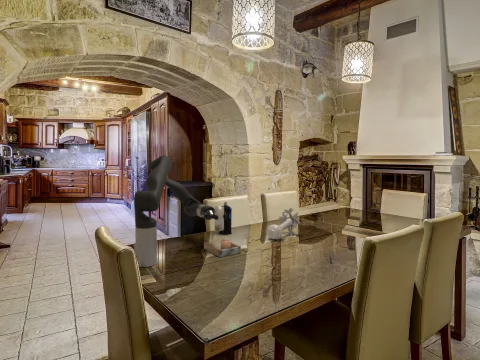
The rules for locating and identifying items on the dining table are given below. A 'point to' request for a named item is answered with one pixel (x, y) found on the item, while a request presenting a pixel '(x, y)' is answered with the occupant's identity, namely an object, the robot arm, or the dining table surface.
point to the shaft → (219, 218)
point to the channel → (225, 252)
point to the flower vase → (284, 225)
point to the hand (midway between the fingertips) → (221, 217)
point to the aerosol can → (227, 220)
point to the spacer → (225, 244)
